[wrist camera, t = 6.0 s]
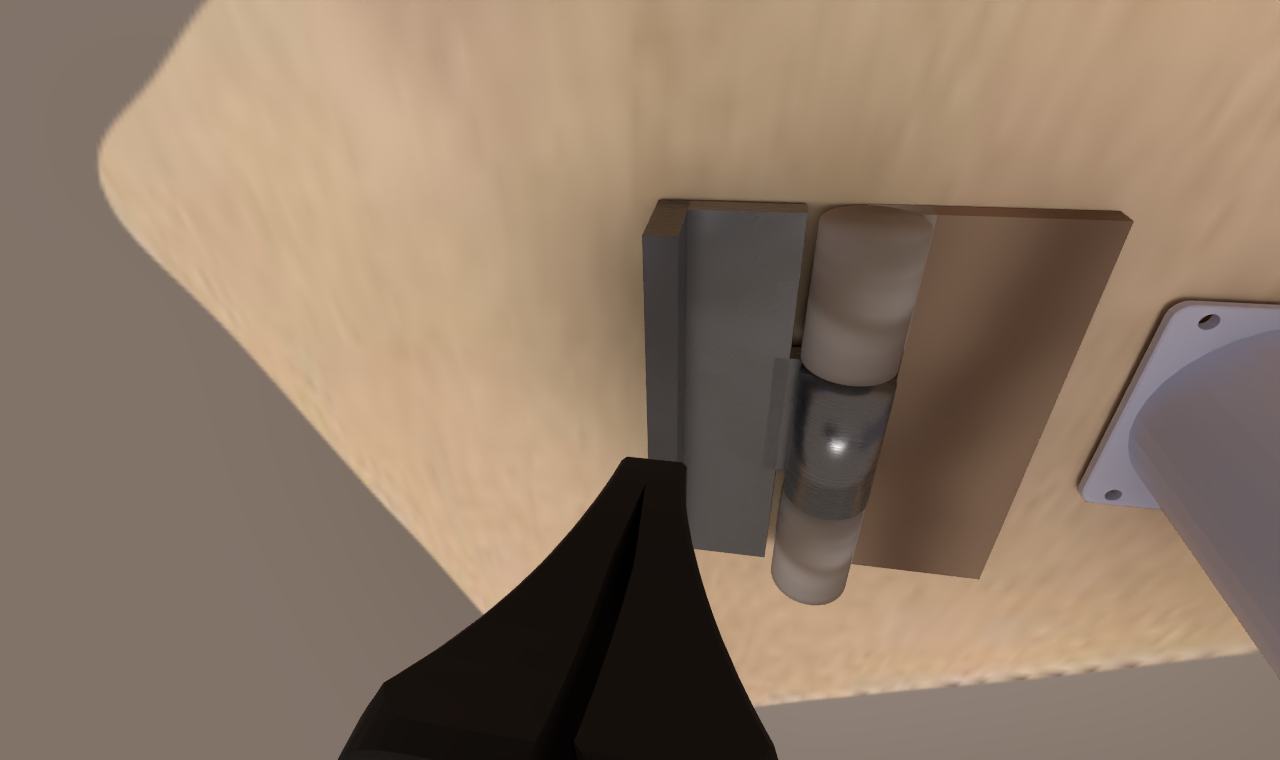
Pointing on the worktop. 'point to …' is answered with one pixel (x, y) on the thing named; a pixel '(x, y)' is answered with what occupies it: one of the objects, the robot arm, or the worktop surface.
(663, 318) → the metal hinge
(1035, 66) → the worktop surface
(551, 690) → the robot arm
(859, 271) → the fixed leaf
